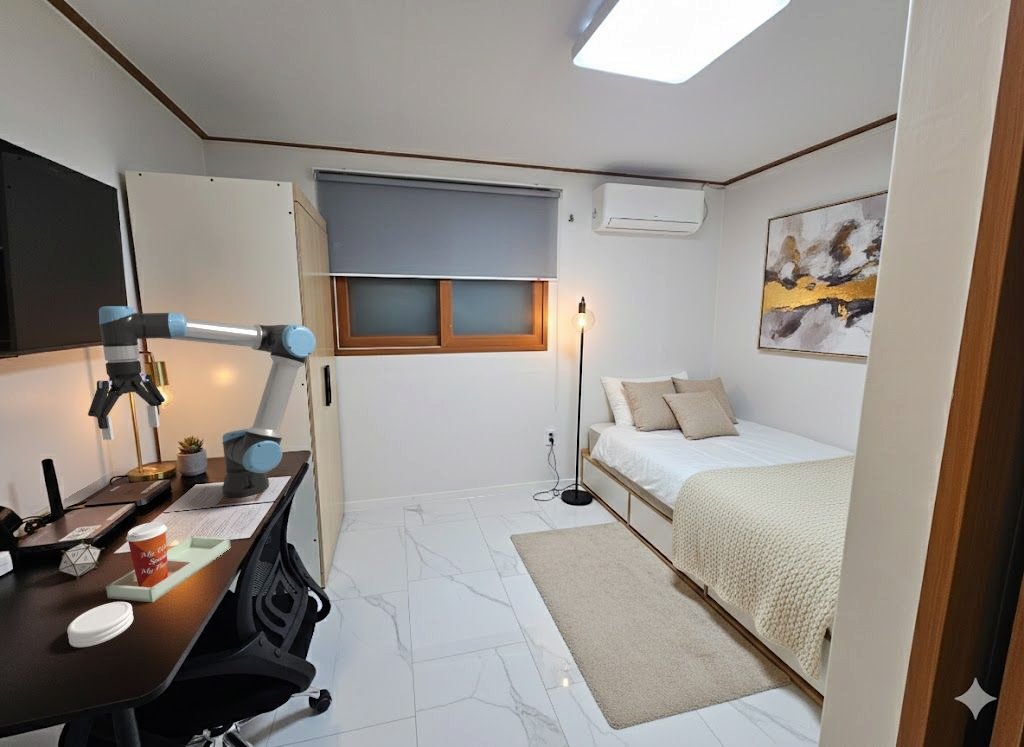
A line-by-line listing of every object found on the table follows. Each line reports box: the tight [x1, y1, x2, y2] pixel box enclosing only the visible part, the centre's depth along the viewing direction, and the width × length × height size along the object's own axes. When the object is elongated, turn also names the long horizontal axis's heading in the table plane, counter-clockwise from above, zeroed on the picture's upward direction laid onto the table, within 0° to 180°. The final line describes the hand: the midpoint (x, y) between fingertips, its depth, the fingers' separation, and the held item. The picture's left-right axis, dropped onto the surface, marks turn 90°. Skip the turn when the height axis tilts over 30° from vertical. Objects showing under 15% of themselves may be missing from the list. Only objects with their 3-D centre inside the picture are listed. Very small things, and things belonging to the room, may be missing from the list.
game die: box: [54, 539, 105, 581], centre depth 112 cm, size 9×8×10 cm
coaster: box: [66, 601, 134, 648], centre depth 92 cm, size 10×10×4 cm
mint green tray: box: [105, 535, 232, 603], centre depth 113 cm, size 23×12×3 cm, turn 172°
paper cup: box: [125, 521, 168, 588], centre depth 107 cm, size 8×8×14 cm
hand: (132, 432), depth 129 cm, fingers open, 13 cm apart
